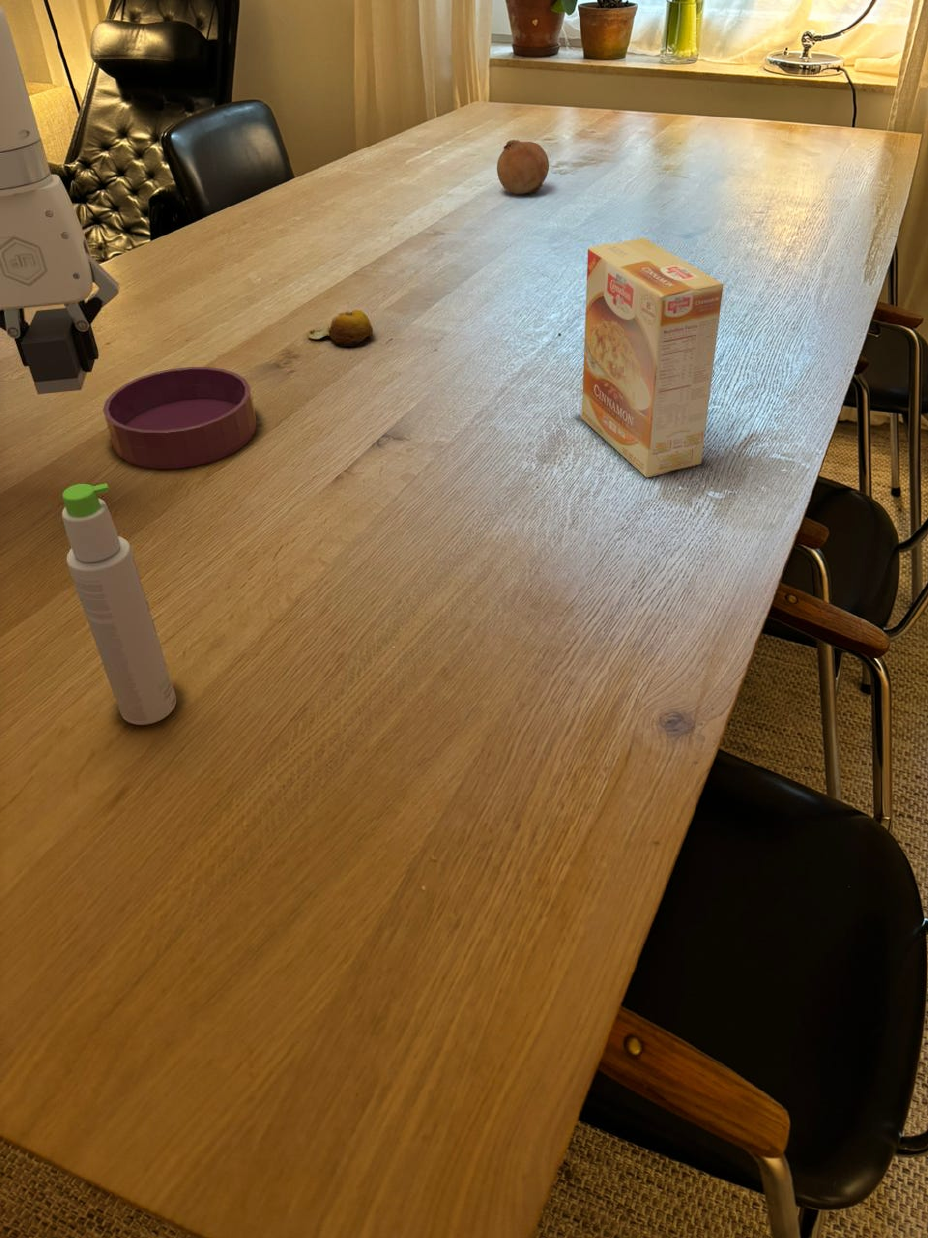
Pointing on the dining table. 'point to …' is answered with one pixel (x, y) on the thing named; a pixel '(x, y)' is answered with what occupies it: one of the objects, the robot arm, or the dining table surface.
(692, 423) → the coffeecake box
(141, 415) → the bowl
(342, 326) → the fruit
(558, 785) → the dining table surface
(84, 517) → the bottle
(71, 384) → the eraser
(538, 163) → the onion
